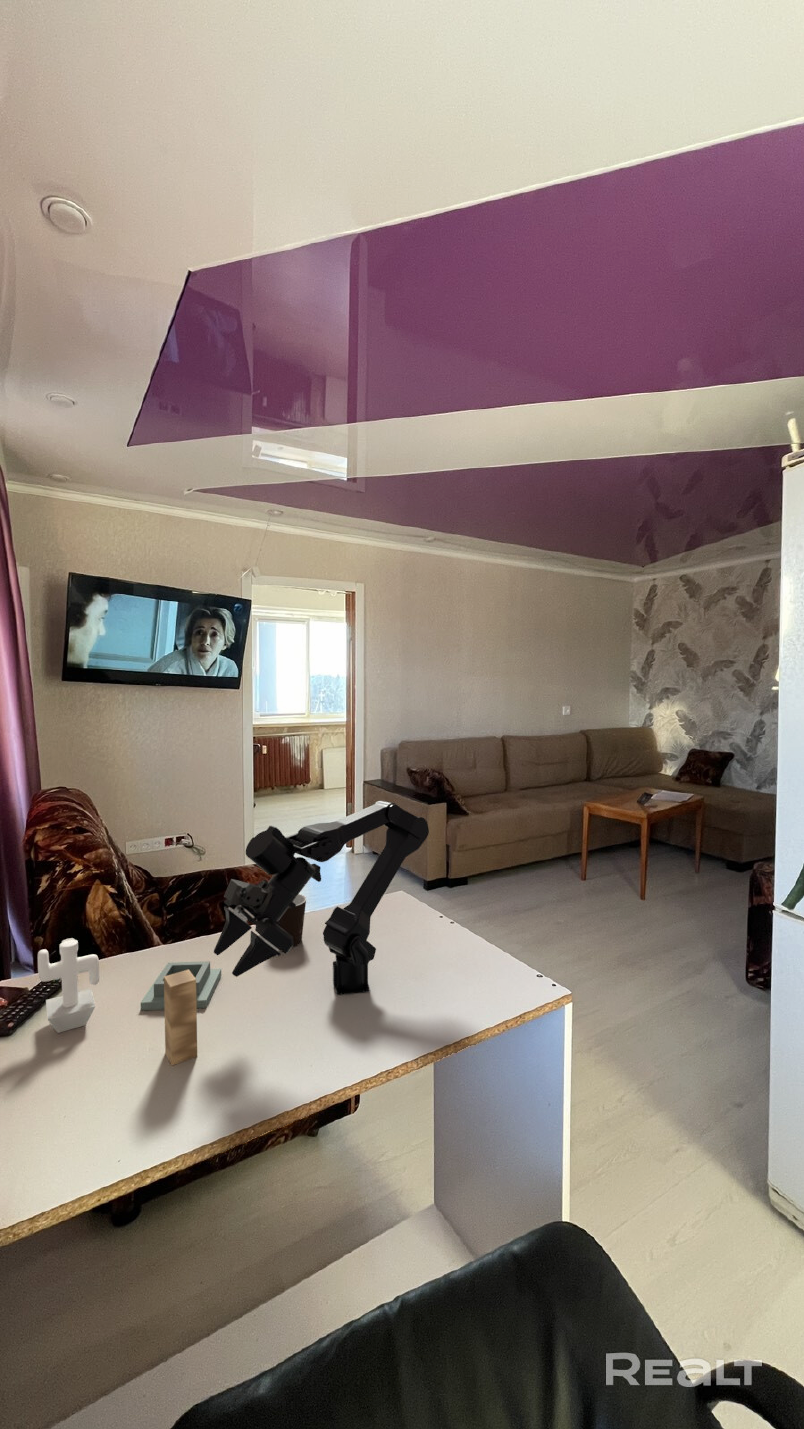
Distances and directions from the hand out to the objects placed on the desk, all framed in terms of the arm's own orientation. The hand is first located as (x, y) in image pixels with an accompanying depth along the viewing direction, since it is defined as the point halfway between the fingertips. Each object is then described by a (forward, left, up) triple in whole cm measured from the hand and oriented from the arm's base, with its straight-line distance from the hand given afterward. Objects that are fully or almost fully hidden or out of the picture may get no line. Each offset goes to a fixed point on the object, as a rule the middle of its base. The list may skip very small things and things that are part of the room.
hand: (224, 964), depth 98 cm
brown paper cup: (-11, -37, -13) cm, 41 cm away
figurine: (+28, -10, -13) cm, 32 cm away
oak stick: (+7, +3, -13) cm, 15 cm away
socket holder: (+10, -17, -13) cm, 23 cm away
